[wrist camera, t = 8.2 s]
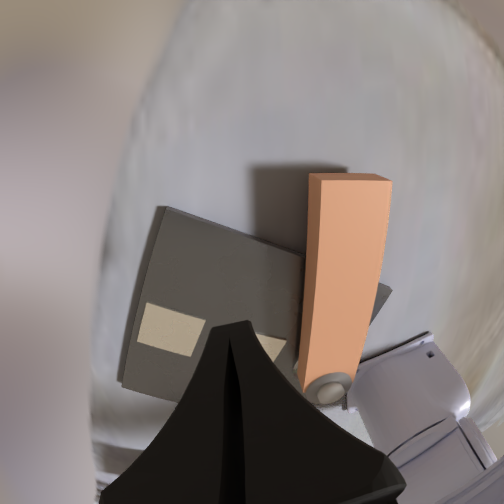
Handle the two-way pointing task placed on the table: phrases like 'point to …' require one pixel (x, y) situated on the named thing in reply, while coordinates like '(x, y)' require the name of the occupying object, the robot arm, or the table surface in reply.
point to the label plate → (214, 302)
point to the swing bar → (340, 278)
